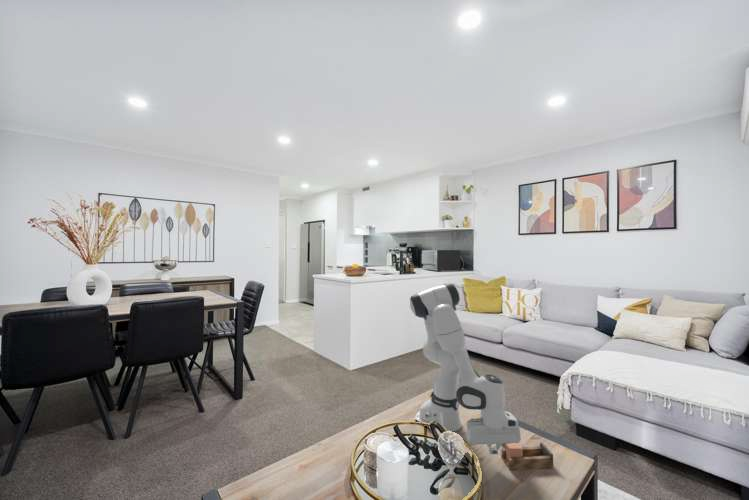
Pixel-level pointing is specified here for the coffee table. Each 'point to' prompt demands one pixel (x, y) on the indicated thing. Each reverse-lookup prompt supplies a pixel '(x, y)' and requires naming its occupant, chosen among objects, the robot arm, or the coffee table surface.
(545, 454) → the brown wooden open box
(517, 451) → the block
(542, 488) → the coffee table surface
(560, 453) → the coffee table surface
